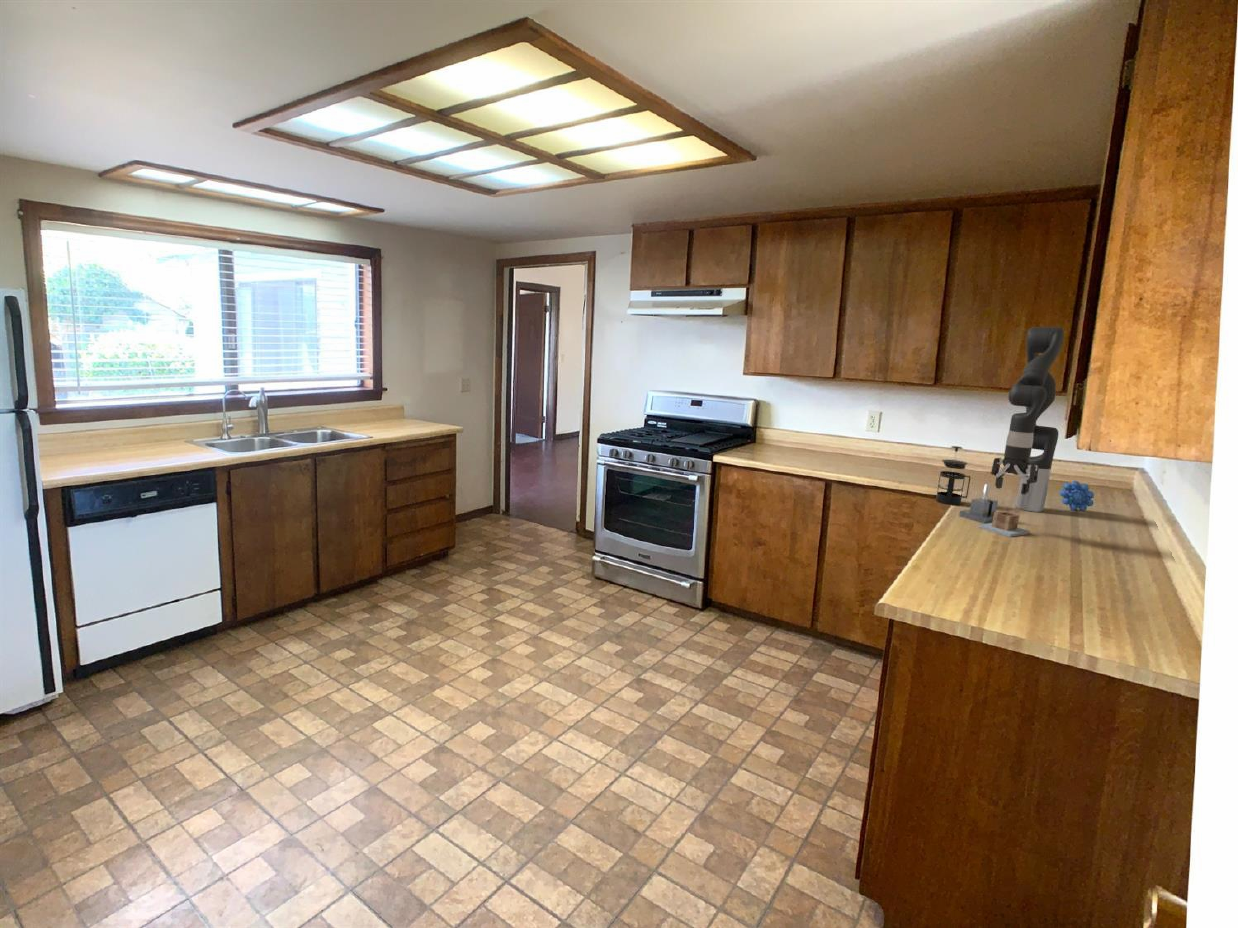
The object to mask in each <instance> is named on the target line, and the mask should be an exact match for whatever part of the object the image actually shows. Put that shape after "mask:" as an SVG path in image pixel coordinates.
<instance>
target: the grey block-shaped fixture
mask: <svg viewBox="0 0 1238 928" xmlns="http://www.w3.org/2000/svg"><path fill="white" fill-rule="evenodd" d="M991 487H992V486H991V484H990V483H984V484H983V491H982V495H981V497H979V498H971V502H970V508H969V509H965V510H959V512H958V513H959V514H958V517H960V518H965V519H968V520H971V521H974V522H978V523H982V524H988V523H992V522H993V516H994V512H997V510H998V503H999V501H998V500H996V499H992V498H989V496H990V490H991Z"/></svg>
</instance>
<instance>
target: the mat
mask: <svg viewBox="0 0 1238 928" xmlns="http://www.w3.org/2000/svg"><path fill="white" fill-rule="evenodd" d="M978 528H979V529H982V530H987V531H989V532H993V533H996V534H999V535H1002V536H1004V537H1005V536H1006V537H1008V538H1011V537H1012V538H1013V537H1016V536H1023V535H1028V534H1030V530H1027V529H1026V528H1021V527H1018V526H1017V529H1016V530H1010V531H1006V530H1003V529H999V528H996V527H992V523H982V524H978Z"/></svg>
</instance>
